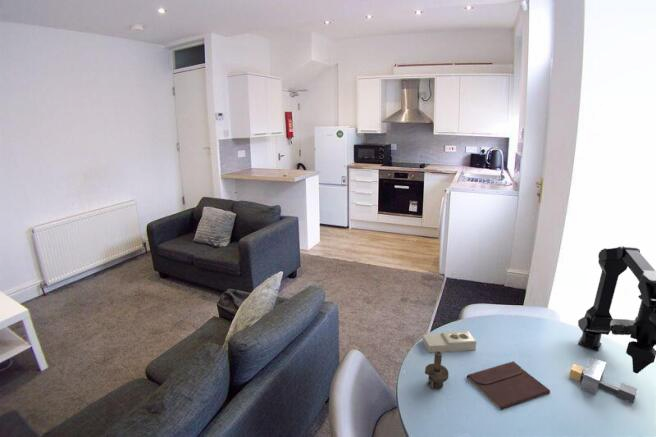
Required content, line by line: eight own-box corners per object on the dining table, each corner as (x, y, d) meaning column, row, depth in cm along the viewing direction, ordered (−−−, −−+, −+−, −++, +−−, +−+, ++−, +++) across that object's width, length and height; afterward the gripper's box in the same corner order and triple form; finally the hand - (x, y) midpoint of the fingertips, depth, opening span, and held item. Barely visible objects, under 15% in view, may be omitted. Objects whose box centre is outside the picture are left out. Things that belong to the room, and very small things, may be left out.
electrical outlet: (423, 332, 143) (468, 330, 144) (422, 341, 144) (467, 339, 145) (429, 343, 136) (476, 341, 137) (428, 353, 137) (475, 350, 139)
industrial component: (438, 374, 125) (442, 344, 122) (452, 389, 119) (456, 357, 116) (414, 381, 122) (417, 349, 119) (427, 396, 116) (430, 363, 113)
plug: (572, 371, 127) (573, 363, 127) (634, 396, 116) (637, 388, 115) (569, 376, 125) (570, 369, 124) (633, 403, 113) (635, 395, 113)
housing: (588, 370, 128) (591, 357, 126) (602, 376, 125) (606, 362, 123) (580, 388, 119) (583, 374, 118) (595, 395, 117) (599, 380, 115)
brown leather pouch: (549, 394, 118) (550, 389, 117) (501, 411, 111) (502, 406, 110) (511, 365, 131) (512, 360, 130) (466, 378, 124) (467, 373, 124)
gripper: (620, 299, 120) (609, 341, 124) (610, 321, 107) (599, 367, 111) (666, 311, 112) (653, 355, 117) (661, 337, 100) (647, 386, 104)
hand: (637, 365), depth 112 cm, fingers open, 9 cm apart
